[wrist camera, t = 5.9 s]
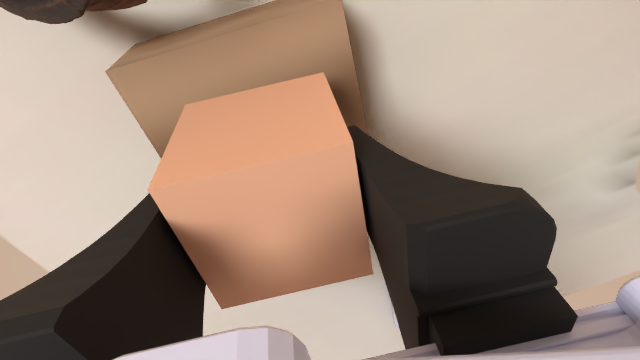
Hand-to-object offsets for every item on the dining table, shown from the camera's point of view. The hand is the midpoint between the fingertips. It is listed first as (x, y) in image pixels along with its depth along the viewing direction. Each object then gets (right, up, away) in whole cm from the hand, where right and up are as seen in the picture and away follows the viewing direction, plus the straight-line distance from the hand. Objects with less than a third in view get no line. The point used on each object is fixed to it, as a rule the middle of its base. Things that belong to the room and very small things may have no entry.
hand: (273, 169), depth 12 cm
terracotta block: (0, +1, +1) cm, 2 cm away
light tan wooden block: (-1, +4, +6) cm, 7 cm away
